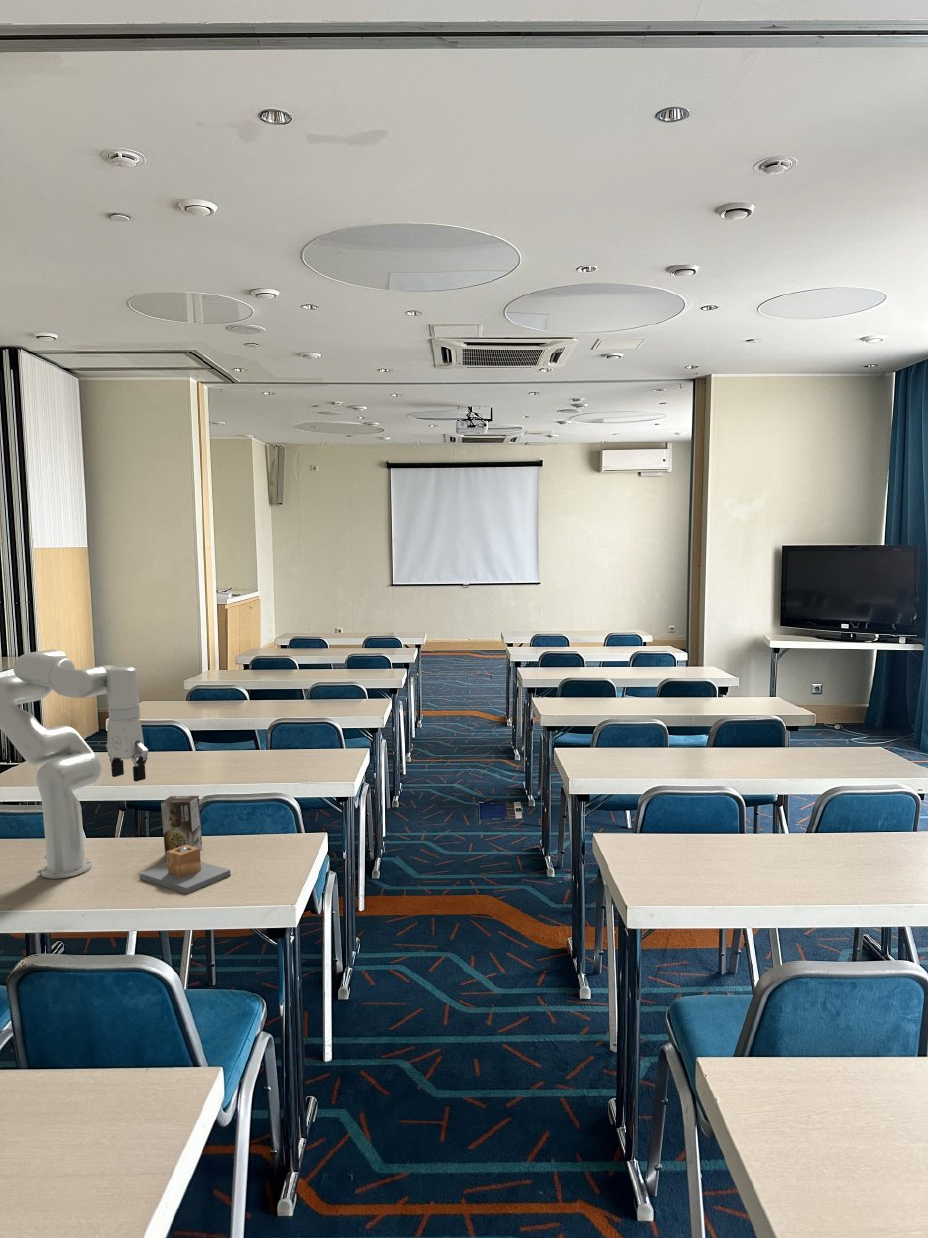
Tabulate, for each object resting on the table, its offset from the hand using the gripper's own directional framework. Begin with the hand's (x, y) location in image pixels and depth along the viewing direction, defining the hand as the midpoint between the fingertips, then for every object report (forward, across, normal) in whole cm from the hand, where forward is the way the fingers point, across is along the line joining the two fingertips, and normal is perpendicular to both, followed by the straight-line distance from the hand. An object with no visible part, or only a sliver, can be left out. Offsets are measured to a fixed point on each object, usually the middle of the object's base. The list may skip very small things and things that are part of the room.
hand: (128, 778), depth 218 cm
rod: (+27, +9, +9) cm, 30 cm away
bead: (+27, +9, +9) cm, 30 cm away
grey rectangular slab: (+28, +9, +9) cm, 31 cm away
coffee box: (+28, -8, +21) cm, 36 cm away
